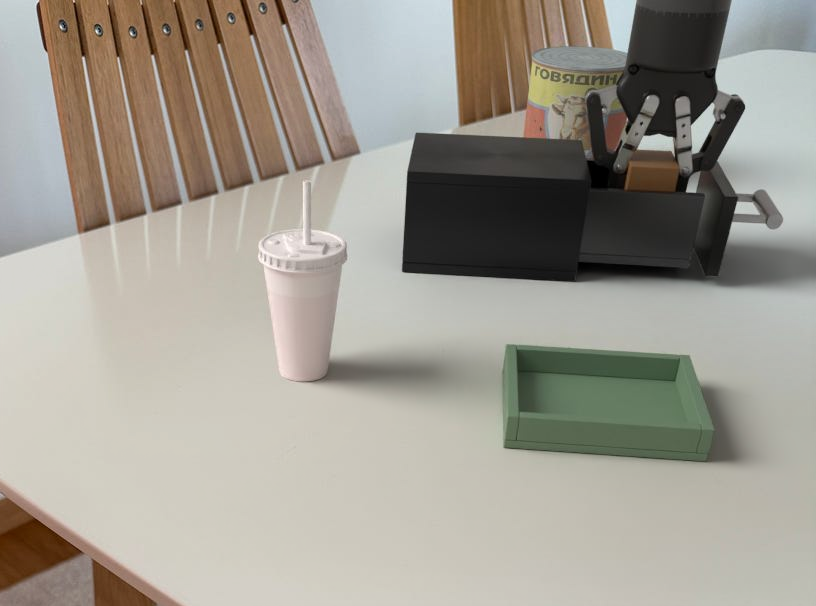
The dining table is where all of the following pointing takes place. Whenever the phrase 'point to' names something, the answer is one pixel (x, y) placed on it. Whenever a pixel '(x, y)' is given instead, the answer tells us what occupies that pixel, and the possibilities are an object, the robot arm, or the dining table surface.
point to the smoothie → (303, 293)
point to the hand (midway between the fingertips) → (641, 214)
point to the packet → (652, 171)
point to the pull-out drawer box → (666, 222)
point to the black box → (495, 206)
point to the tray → (604, 403)
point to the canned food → (572, 93)
